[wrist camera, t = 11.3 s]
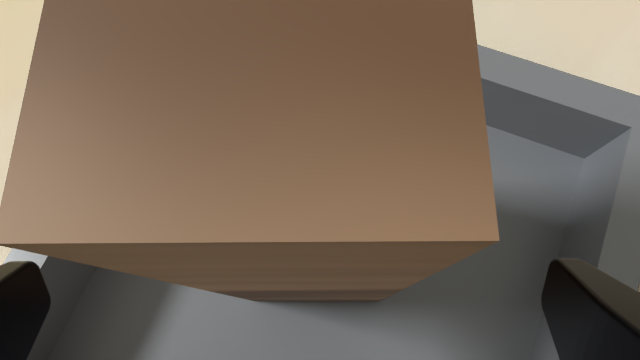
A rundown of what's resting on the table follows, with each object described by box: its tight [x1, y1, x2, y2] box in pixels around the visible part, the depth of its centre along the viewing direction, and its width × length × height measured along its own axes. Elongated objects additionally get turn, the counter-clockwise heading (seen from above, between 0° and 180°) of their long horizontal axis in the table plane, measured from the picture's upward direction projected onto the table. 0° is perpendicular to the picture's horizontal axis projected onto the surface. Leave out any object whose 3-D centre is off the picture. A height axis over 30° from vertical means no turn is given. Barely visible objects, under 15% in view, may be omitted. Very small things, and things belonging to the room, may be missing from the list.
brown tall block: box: [0, 0, 500, 301], centre depth 11 cm, size 4×4×13 cm
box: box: [3, 45, 640, 360], centre depth 16 cm, size 18×18×4 cm
